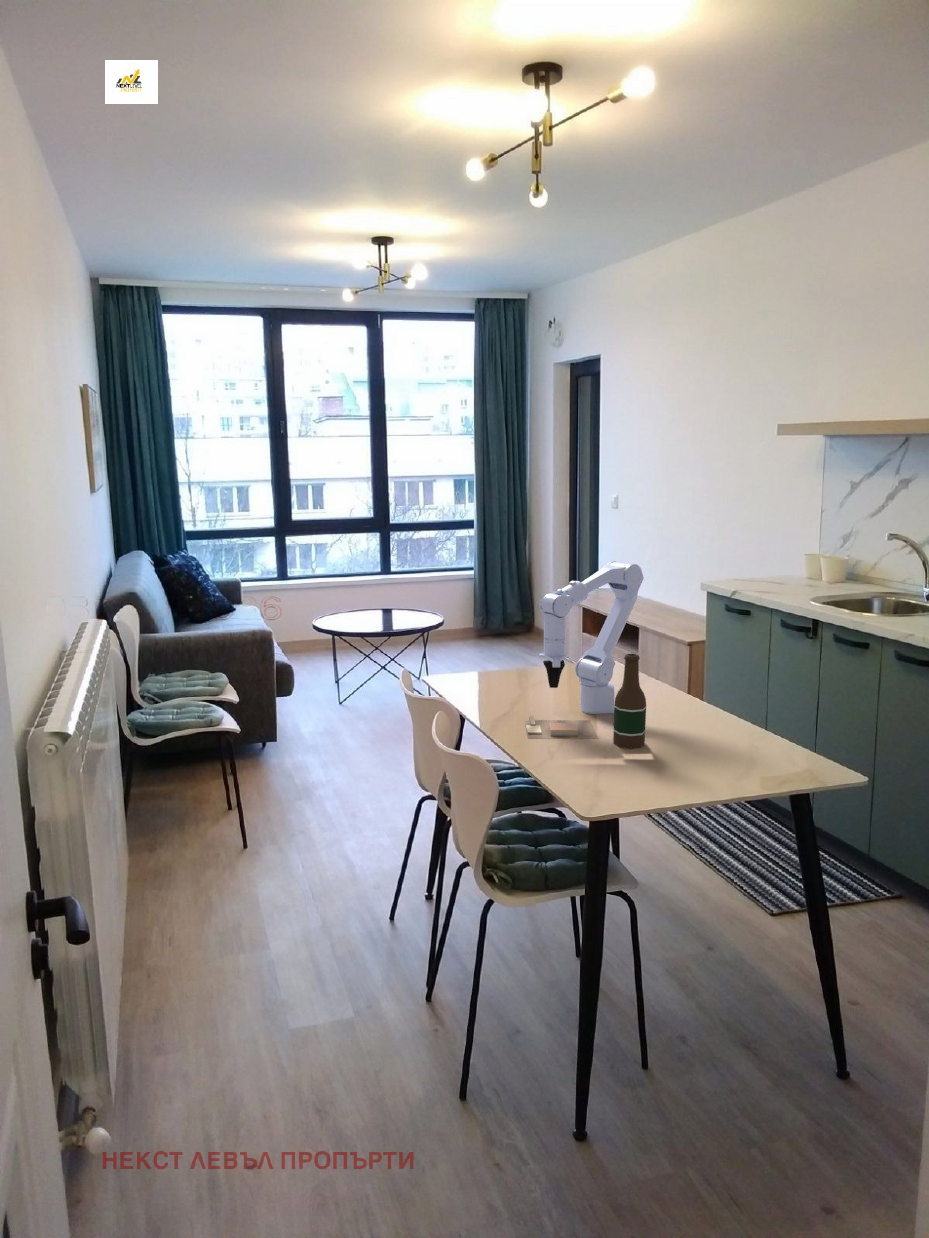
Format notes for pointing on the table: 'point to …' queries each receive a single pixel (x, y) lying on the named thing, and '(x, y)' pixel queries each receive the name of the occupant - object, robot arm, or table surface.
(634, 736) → the beer bottle
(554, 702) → the table surface
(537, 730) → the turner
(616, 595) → the robot arm
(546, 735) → the board
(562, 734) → the tile
